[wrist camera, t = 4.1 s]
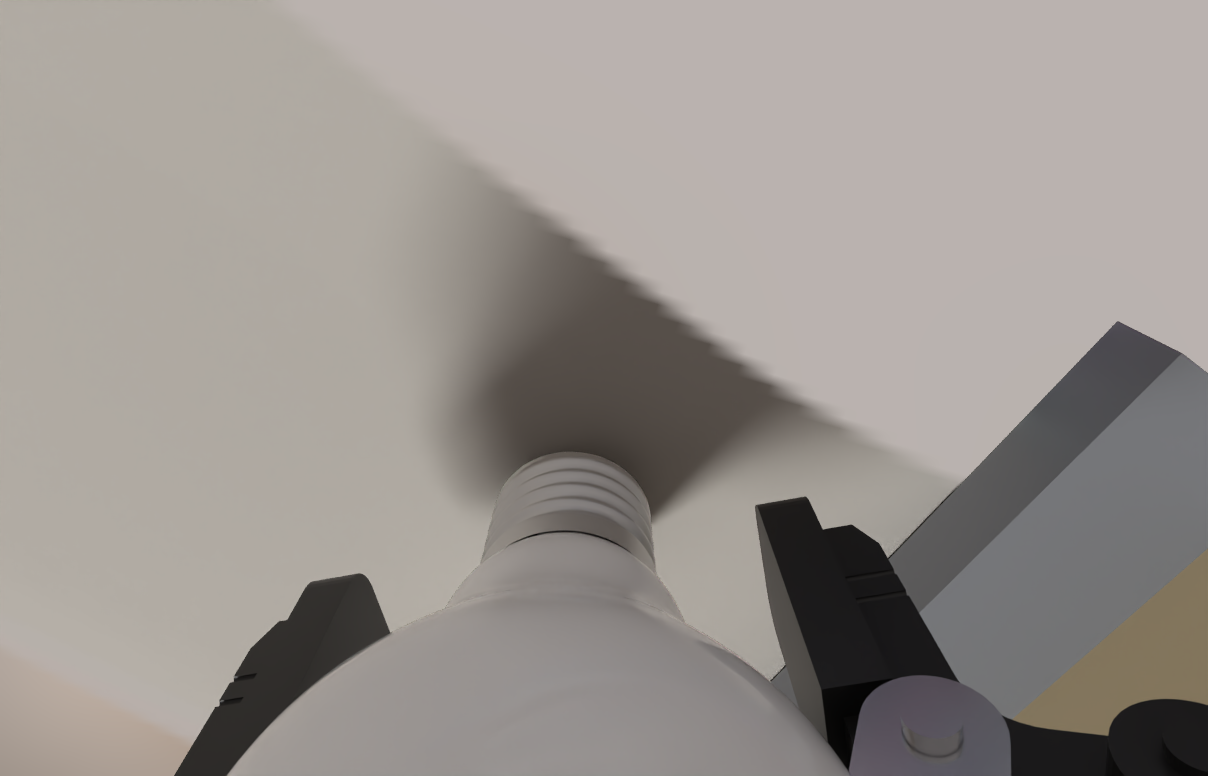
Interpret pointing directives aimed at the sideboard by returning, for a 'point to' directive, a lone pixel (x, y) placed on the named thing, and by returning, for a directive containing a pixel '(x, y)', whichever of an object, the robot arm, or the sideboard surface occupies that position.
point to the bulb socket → (1078, 547)
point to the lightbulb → (548, 664)
